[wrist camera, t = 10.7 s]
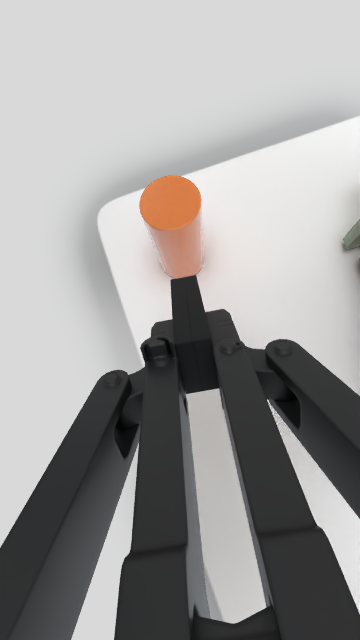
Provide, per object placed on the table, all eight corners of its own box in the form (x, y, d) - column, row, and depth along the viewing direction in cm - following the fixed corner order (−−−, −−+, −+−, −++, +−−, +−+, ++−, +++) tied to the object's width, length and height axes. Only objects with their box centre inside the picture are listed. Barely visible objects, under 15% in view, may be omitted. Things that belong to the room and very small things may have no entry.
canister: (163, 283, 33) (143, 235, 23) (157, 243, 34) (135, 182, 24) (208, 274, 32) (206, 223, 23) (200, 234, 33) (195, 169, 24)
